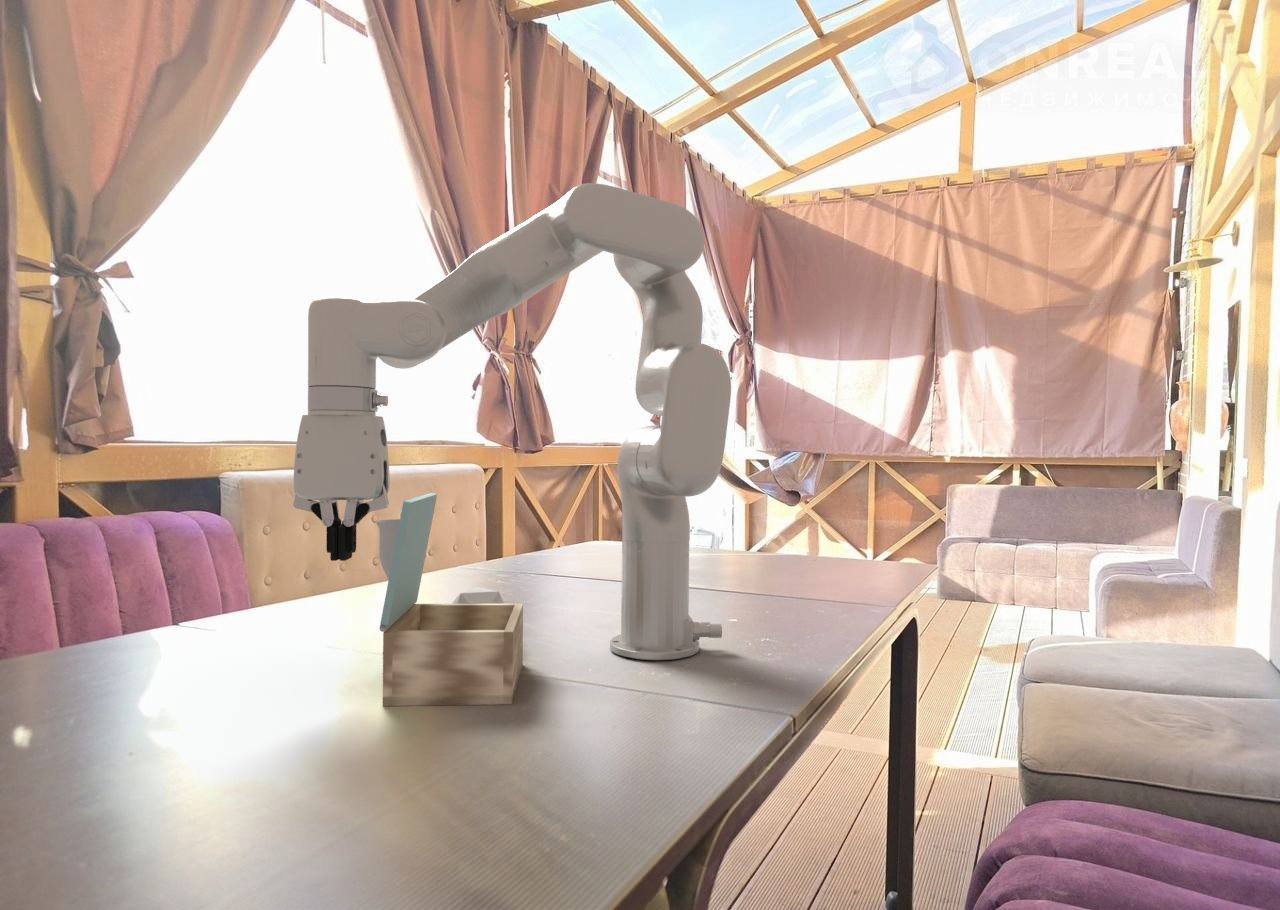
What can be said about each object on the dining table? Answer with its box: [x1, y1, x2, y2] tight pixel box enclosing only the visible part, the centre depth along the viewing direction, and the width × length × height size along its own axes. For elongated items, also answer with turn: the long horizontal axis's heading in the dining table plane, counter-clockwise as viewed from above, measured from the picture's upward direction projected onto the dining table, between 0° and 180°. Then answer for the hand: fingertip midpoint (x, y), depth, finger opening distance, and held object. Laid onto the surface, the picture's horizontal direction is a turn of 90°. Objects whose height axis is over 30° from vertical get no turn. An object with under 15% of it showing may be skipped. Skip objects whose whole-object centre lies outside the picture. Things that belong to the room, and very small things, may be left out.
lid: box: [379, 492, 438, 633], centre depth 94 cm, size 14×16×2 cm
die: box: [451, 586, 505, 604], centre depth 112 cm, size 8×9×10 cm
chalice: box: [375, 518, 427, 581], centre depth 108 cm, size 7×7×18 cm
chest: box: [382, 602, 524, 707], centre depth 94 cm, size 14×16×8 cm
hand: (341, 558), depth 93 cm, fingers closed
